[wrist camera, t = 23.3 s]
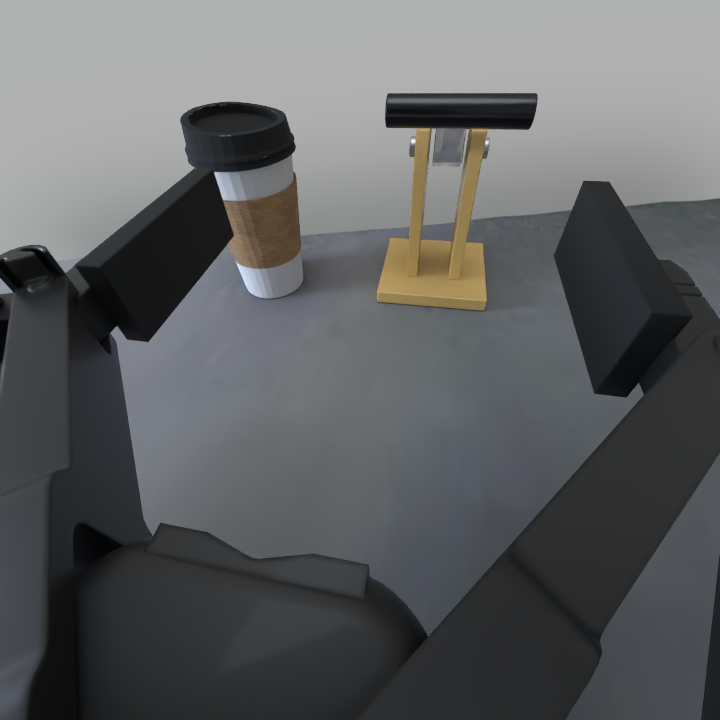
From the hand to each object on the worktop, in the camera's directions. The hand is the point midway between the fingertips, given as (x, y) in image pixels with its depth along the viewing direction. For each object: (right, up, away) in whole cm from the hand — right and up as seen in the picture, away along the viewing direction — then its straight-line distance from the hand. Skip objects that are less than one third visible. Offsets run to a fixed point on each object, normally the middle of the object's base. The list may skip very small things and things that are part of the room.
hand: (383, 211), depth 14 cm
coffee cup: (-10, +2, +25) cm, 27 cm away
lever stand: (+7, +3, +24) cm, 25 cm away
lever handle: (+5, +8, +11) cm, 14 cm away
